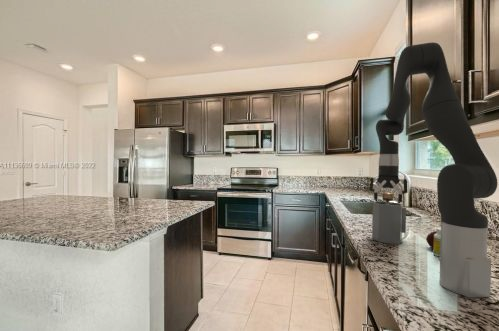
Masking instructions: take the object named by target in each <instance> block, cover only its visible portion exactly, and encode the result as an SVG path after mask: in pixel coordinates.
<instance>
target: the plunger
mask: <svg viewBox="0 0 499 331" xmlns="http://www.w3.org/2000/svg"><path fill="white" fill-rule="evenodd" d="M381 197H382V200H383V201H384V200H385V201H386V205H389V201H394V193H393V192H382V196H381Z"/></svg>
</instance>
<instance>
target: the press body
mask: <svg viewBox="0 0 499 331" xmlns="http://www.w3.org/2000/svg"><path fill="white" fill-rule="evenodd" d="M371 222H372V226H371V228H372V229H371V232H372V233H371V236H372V240H374V241H376V242H378V243H383V244H388V245H401V244H402V243H403V234H405V233H406V227H407V226H406V225H407V207H404V204H402V203H394V202H389V205H386V202H385V201H384V200H383V201H381V200H380V201H376V200H374V201H373V202H372V221H371Z"/></svg>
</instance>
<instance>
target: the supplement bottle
mask: <svg viewBox="0 0 499 331" xmlns="http://www.w3.org/2000/svg"><path fill="white" fill-rule="evenodd" d="M435 231H436V232H437V233H436V234H434V247H433V248H432V250H433V252H432V253H433V254H434V255H435V256H436V257H439V258H440V244H441V227H436V230H435Z"/></svg>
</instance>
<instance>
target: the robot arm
mask: <svg viewBox="0 0 499 331" xmlns="http://www.w3.org/2000/svg"><path fill="white" fill-rule="evenodd" d="M421 74H422V75H423V74H426V75H427V77H428V79H429V81H428V82H429V86H428V90H427V92H426V95H425V97H424V99H423V102H422V105H421V114H422V116H423V120H424V122H425V126H426V127H427V129H428V131H429V133H431V135H432V136H433V137H434V138H435V139H436V140H437V141H438V142H439V143H441V145H442V146H443V147H444V148H446V150H447V151H448V153H449V154H450V155H451V158H452V160H453V163H450V164H447V165H445V166H443V167H442V168H441V170H440V171H439V172H438V175H437V182H436V190H437V208H438V212H439V214H440V218H441V219H440V228H441V244H440V257H439V285H441V286H442V287H443V288H445V289H447V290H449V291H450V292H453V293H456V294H459V295H462V296H464V297H466V298H469V299H471V298H491V286H492V284H491V283H492V282H491V281H492V259H491V258H489V257H488V227H489V219H488V217H487V215H485V214H484V213H481V212H479V211H478V210H477V209H476V206H475V200H476V199H487V198H490V197H491V196H493V194H495V192H496V190H497V189H498V177H497V175H496V172H495V171H494V168H493V167H492V165H491V163H490V161H489V160H488V158H487V157H486V155H485V153H484V151H483V150H482V148H481V146H480V144H479V142H478V140H477V138H476V136H475V133H474V130H473V129H472V127H471V125H470V122H469V119H468V117H467V114H466V111H465V109H464V107H463V105H462V103H461V101H460V98H459V95H458V94H457V92H456V88H455V86H454V83H453V81H452V79H451V78H452V77H451V75H450V73H449V68H448V64H447V61H446V57H445V53H444V50H443V48H442V46H441V45H440V44H439V43H437V42H433V41H432V42H425V43H419V44H412V45H407V46H406V47H404V48H403V49H402V51H401V52H400V55H399V58H398V60H397V65H396V71H395V75H394V82H393V88H392V93H391V97H390V99H389V100H390V101H389V102H388V106H387V108H386V111H385V117H386V118H381V119H379V120H377V122H376V124H375V132H376V135H377V138H378V143H379V157H378V176H377V177H376V178H375V177H370V181H369V191H370V192H373V200H374V201H378V197H379V193H378V191H380V189H382V188H384V189H395V191H396V192H398V193H397V195H398V196H397V197H398V198H397V201H398V203H399V204H401V203H402V202H403V195H404V194H408V192H409V191H408V190H409V189H408V179H407V178H403V179H402V178H399V167H400V166H399V165H400V163H399V162H400V157H399V142H398V141H397V140H391V139H389V138H388V136H398V135H401V134H402V133H403V131H404V128H405V116H406V114H407V111H408V110H409V108H410V106H411V100H412V98H411V94H410V92H409V89H408V86H407V81H408V78H409V77H410V76H415V75H421ZM376 181H377V182H378V185H377V187H375V188H374V183H376ZM399 183H400V184H402V185H403V190H401V189H400V188H399V187H398V185H399Z"/></svg>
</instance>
